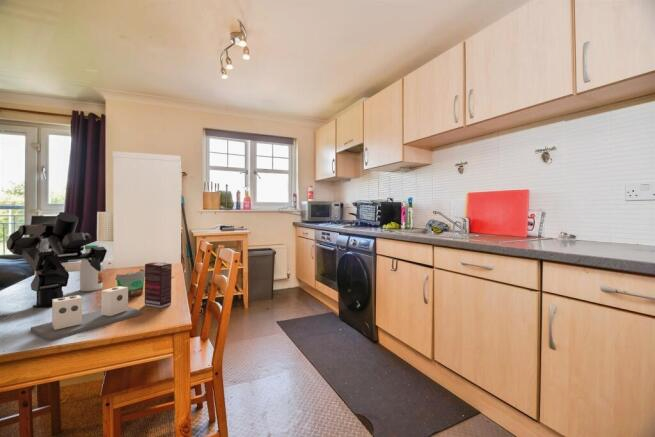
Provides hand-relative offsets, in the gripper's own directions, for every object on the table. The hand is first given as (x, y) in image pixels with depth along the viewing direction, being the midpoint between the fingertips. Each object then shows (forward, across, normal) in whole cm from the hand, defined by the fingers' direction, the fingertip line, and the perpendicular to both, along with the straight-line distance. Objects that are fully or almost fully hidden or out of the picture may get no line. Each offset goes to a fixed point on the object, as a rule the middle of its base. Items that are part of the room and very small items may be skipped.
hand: (83, 272), depth 94 cm
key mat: (+14, -1, +9) cm, 17 cm away
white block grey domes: (+14, -8, +7) cm, 18 cm away
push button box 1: (+15, +5, +7) cm, 17 cm away
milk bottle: (-22, +18, +31) cm, 42 cm away
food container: (0, +22, +17) cm, 28 cm away
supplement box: (+17, +19, +8) cm, 26 cm away
